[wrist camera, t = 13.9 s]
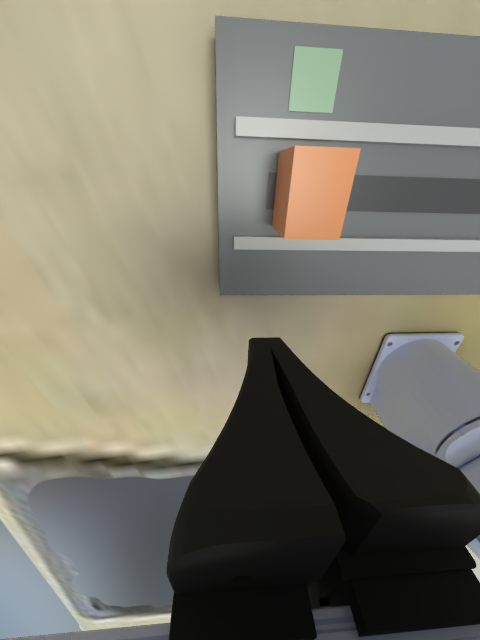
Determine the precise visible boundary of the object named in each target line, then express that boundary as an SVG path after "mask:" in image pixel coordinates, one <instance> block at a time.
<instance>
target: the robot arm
mask: <svg viewBox="0 0 480 640" xmlns="http://www.w3.org/2000/svg"><path fill="white" fill-rule="evenodd" d="M463 339H464V335H462V334H461V333H414V334H389V335H387V336H386V337H385V339H384V341H383V343H382V346H381V348H380V351H379V353H378V356H377V358H376V360H375V363H374V365H373V368H372V370H371V373H370V375H369V378H368V380H367V382H366V385H365V387H364V390H363V392H362V395H361V397H360V400H361V402H362V403H370V405H371V406H372V408H373V409H374V411H375V412H376V414H377V415H378V417H379V418H380V420H381V422H382V423H383V425H384V426H385V428H384V427H383V426H381V425H379V424H378V423H376V422H375V421H373V420H372V419H370V418H369V417H367V416H366V415H364V414H363V413H361V412H360V411H358V410H357V409H356V408H354V407H353V406H351V405H350V404H349V403H347V402H346V401H345V400H344V399H342V398H341V397H340V396H339V395H337V394H336V393H335V392H333V391H332V390H331V389H330V388H329V387H327V386H326V385H325V384H324V383H323V382H322V381H321V380H320V379H319V378H317V377H316V376H315V375H314V374H313V373H312V372H311V371H310V370H309V369H308V368H307V367H306V366H305V365H304V364H303V363H302V362H301V361H300V359H299V358H298V357H297V356H296V355H295V354H294V353H293V352H292V351H291V350H290V348H289V347H288V346H287V345H286V344H285V343H284V342H283V341H282V339H281V338H251V339H250V340H249V349H248V366H247V370H246V374H245V377H244V380H243V383H242V387H241V389H240V392H239V395H238V397H237V400H236V402H235V405H234V407H233V409H232V411H231V413H230V415H229V418H228V420H227V422H226V424H225V426H224V428H223V430H222V431H221V433H220V435H219V437H218V438H217V440H216V442H215V444H214V445H213V447H212V449H211V451H210V452H209V454H208V456H207V457H206V459H205V460H204V462H203V463H202V465H201V466H200V468H199V469H198V471H197V472H196V474H195V475H194V477H193V479H192V480H191V482H190V484H189V487H188V489H187V492H186V494H185V497H184V499H183V502H182V504H181V507H180V509H179V512H178V515H177V518H176V521H175V524H174V528H173V532H172V536H171V541H170V547H169V555H168V563H167V576H168V578H169V581H170V583H171V586H172V588H173V590H174V597H173V605H172V614H171V623H163V624H152V625H142V626H132V627H121V628H111V629H101V630H90V631H81V632H70V633H61V634H49V635H39V636H28V637H18V638H8V639H0V640H480V582H479V581H478V579H477V578H476V576H475V574H474V573H473V571H472V570H471V569H474V568H475V567H476V563H475V561H474V559H473V557H472V556H471V554H470V553H469V552H468V550H467V548H466V547H465V546H466V545H467V546H468V547H469V548H470V549H471V550H472V551H473V552H474V553H475V555H476V556H478V558H480V372H479V371H478V370H477V369H475V368H474V367H473V366H471V365H470V364H469V363H467V362H466V361H465V360H464V359H462V358H461V357H460V356H458V355H457V354H456V353H455V352H456V350H457V349H458V347H459V345H460V344H461V342H462V340H463ZM389 342H390V343H389Z"/></svg>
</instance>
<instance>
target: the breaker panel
mask: <svg viewBox="0 0 480 640" xmlns="http://www.w3.org/2000/svg"><path fill="white" fill-rule="evenodd" d="M215 44H216V103H217V162H218V222H219V281H220V295H465V294H480V36H467V35H455V34H442V33H429V32H416V31H403V30H391V29H378V28H365V27H352V26H339V25H327V24H314V23H301V22H288V21H276V20H263V19H250V18H237V17H224V16H215ZM295 145H296V146H320V147H344V148H361V150H360V155H359V159H358V163H357V167H356V172H355V176H354V180H353V185H352V189H351V193H350V197H349V202H348V206H347V210H346V215H345V219H344V223H343V227H342V232H341V236H340V240H295V239H283V238H282V237H281V236H280V235H279V234H278V233H277V231H276V230H275V229H274V228H273V227H272V222H273V211H274V200H275V189H276V178H277V167H278V156H279V151H282V150H284V149H287V148H290V147H292V146H295Z"/></svg>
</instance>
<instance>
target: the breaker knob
mask: <svg viewBox="0 0 480 640" xmlns="http://www.w3.org/2000/svg"><path fill="white" fill-rule="evenodd" d="M360 150H361V148H344V147H320V146H296V145H295V146H292V147H290V148H287V149H284V150H282V151H279V156H278V167H277V178H276V189H275V200H274V211H273V222H272V227H273V228H274V229H275V230H276V231H277V233H278V234H279V235H280V236H281V237H282V238H283V239H295V240H340V236H341V232H342V227H343V223H344V219H345V215H346V210H347V206H348V202H349V197H350V193H351V189H352V185H353V180H354V176H355V172H356V167H357V163H358V159H359V155H360Z"/></svg>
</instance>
